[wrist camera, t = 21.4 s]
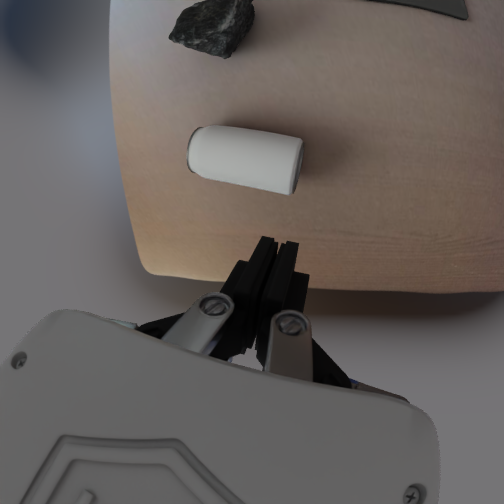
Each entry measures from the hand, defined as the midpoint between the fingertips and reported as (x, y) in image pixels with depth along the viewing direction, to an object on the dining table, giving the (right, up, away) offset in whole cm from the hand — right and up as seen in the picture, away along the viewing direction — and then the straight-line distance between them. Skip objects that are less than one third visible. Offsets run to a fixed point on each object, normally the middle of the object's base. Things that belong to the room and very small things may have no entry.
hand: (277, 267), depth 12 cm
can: (+4, +10, +16) cm, 19 cm away
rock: (-4, +27, +12) cm, 30 cm away
